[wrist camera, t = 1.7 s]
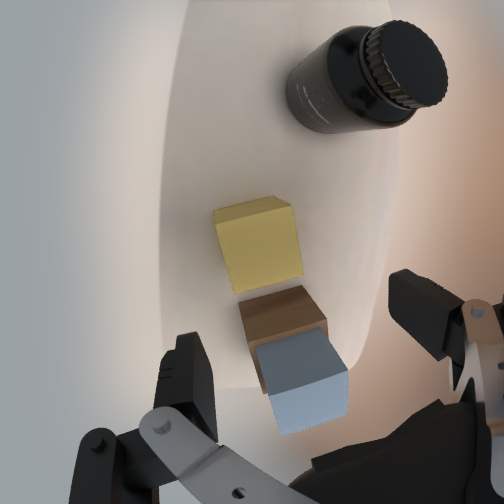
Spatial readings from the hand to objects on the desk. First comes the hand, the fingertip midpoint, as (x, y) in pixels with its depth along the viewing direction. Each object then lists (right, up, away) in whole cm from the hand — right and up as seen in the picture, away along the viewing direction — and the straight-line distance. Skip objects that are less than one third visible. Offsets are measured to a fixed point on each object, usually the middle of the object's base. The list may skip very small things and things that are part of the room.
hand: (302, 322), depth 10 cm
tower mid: (+1, -6, +10) cm, 12 cm away
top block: (-2, +4, +13) cm, 13 cm away
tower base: (0, -4, +16) cm, 16 cm away
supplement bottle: (+4, +16, +10) cm, 19 cm away
